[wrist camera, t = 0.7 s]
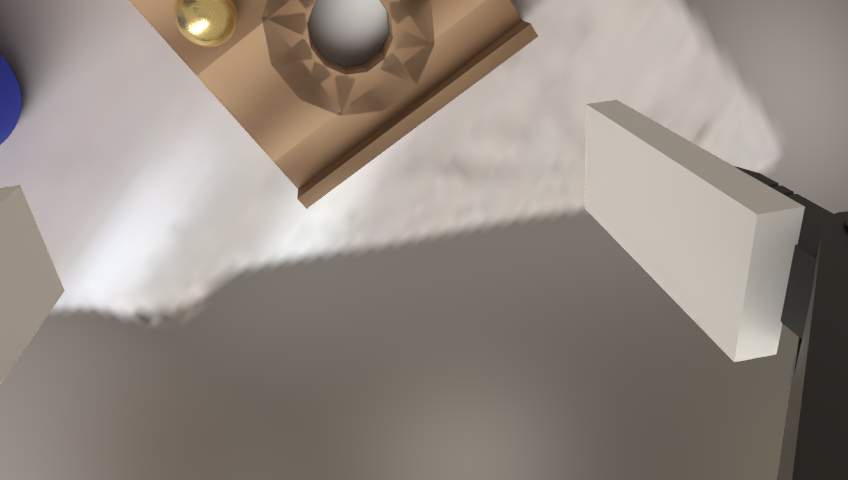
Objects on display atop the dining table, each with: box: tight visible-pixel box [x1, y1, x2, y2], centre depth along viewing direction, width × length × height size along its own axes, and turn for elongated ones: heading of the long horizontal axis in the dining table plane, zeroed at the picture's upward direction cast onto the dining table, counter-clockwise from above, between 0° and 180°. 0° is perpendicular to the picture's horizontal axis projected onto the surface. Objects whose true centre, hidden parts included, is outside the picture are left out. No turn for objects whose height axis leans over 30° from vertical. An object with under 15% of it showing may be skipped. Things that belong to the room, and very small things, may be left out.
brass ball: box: [173, 0, 238, 47], centre depth 31 cm, size 3×3×3 cm
